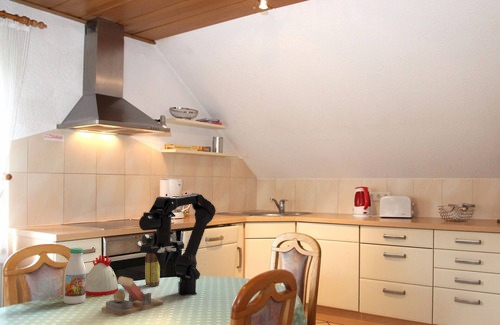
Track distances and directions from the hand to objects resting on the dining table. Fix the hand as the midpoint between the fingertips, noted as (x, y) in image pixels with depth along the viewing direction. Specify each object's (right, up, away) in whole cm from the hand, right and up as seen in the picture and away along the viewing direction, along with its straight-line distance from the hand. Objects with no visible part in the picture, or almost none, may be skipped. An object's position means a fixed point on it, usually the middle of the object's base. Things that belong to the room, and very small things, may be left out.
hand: (162, 269), depth 181 cm
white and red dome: (-27, -12, +10) cm, 32 cm away
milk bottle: (-32, -11, -6) cm, 34 cm away
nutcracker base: (-8, -11, -12) cm, 18 cm away
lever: (-6, -8, -9) cm, 14 cm away
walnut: (-12, -8, -17) cm, 22 cm away
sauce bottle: (-9, -13, +25) cm, 29 cm away
